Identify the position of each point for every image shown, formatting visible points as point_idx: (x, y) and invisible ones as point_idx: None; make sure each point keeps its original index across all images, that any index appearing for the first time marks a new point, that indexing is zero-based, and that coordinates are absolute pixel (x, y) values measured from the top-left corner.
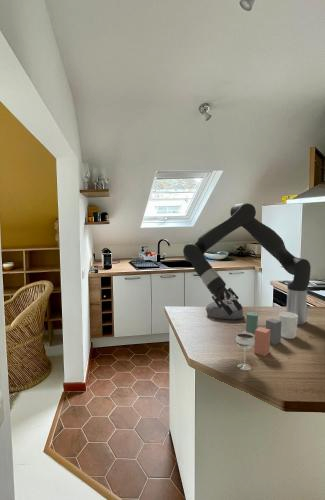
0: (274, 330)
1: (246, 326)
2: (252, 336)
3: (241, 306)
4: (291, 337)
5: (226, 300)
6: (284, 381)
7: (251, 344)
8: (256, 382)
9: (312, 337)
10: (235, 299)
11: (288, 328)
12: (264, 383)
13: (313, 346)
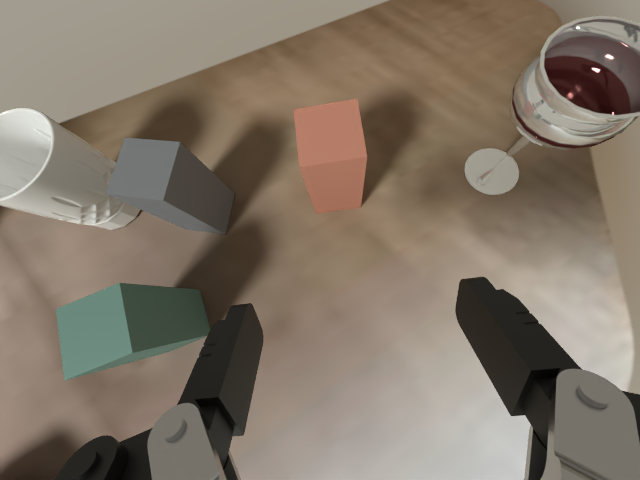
0: (203, 166)
1: (186, 338)
2: (536, 65)
3: (233, 314)
4: None
5: (573, 467)
6: (463, 52)
7: (583, 52)
8: None
9: (81, 136)
10: (206, 434)
11: (108, 164)
12: None
13: (160, 103)
